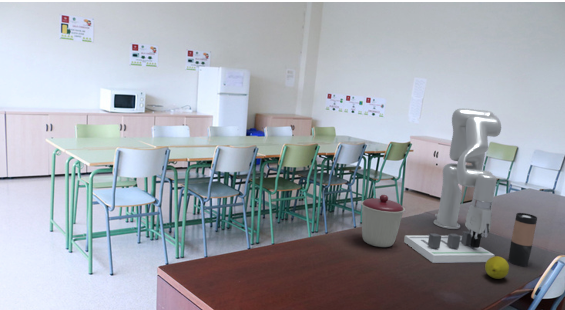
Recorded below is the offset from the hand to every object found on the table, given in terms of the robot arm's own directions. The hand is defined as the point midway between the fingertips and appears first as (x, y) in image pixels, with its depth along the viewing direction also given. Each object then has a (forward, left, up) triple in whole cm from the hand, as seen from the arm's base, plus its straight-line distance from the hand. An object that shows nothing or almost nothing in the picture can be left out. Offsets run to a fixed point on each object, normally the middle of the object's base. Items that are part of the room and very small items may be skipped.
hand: (474, 246), depth 186 cm
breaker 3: (-5, 0, -1) cm, 5 cm away
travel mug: (+7, +16, -4) cm, 18 cm away
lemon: (+20, -6, -4) cm, 22 cm away
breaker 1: (-2, -18, -1) cm, 18 cm away
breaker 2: (-2, -9, -1) cm, 9 cm away
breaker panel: (-5, -9, -4) cm, 11 cm away
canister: (-15, -36, -4) cm, 39 cm away
